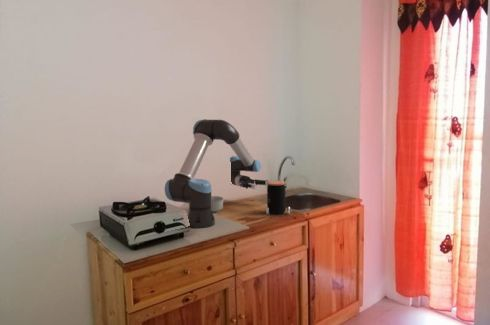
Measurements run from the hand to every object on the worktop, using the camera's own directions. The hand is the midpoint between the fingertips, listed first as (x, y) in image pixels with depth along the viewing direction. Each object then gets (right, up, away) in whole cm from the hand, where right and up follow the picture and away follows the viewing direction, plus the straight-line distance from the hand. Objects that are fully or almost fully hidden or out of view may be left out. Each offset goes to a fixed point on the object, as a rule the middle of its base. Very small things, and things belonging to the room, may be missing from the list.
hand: (264, 185), depth 231 cm
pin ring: (+6, -16, -8) cm, 18 cm away
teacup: (-32, -15, -3) cm, 35 cm away
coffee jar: (+7, -16, -7) cm, 18 cm away
